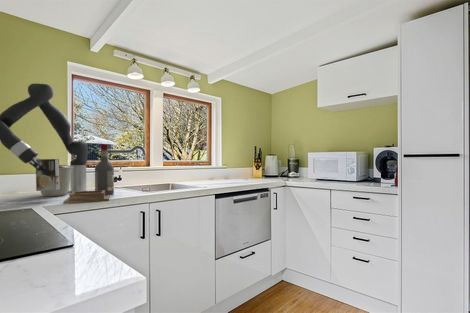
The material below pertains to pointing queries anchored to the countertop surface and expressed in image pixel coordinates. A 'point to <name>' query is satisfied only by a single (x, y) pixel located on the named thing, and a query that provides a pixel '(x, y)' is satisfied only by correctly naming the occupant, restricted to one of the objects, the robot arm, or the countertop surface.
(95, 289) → the countertop surface
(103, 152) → the liquor
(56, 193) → the canister
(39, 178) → the coffee box
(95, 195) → the walnut caddy
